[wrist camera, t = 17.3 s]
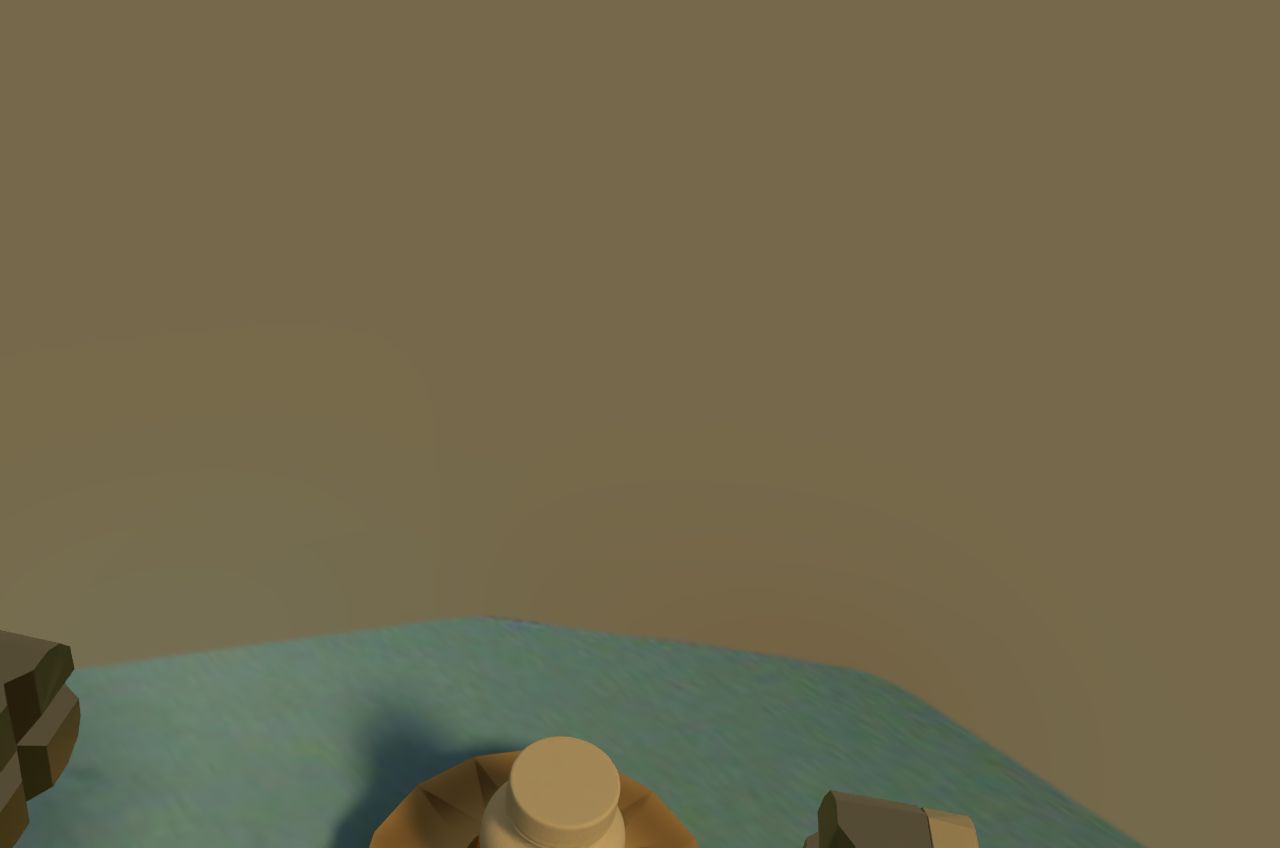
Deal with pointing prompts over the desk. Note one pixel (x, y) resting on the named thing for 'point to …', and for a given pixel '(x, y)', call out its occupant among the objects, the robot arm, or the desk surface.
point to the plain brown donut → (456, 799)
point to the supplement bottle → (556, 799)
